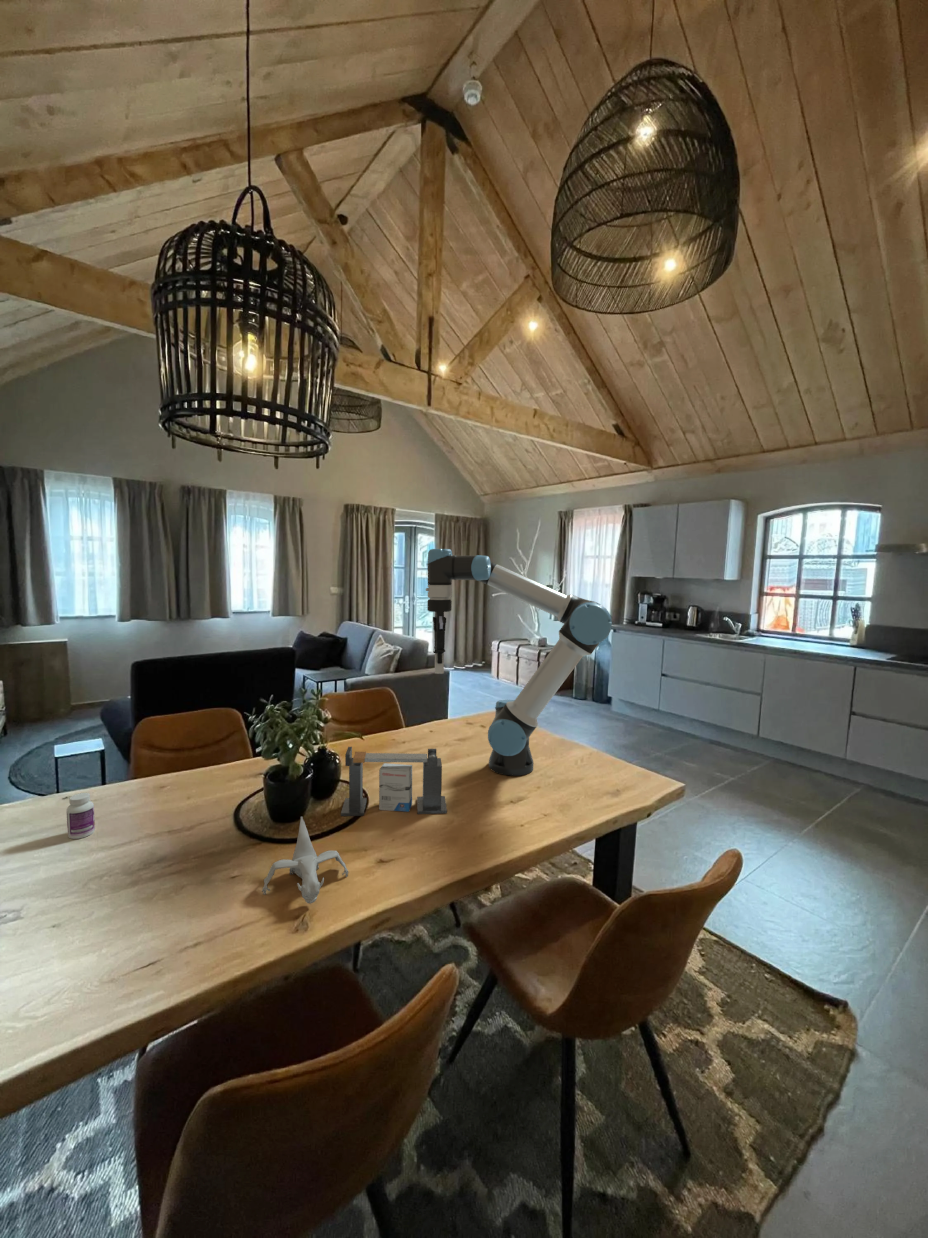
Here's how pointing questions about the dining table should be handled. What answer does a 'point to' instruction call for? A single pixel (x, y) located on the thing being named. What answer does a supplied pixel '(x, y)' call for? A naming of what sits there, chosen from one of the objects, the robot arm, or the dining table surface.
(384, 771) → the ink box
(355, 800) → the post
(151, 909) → the dining table surface
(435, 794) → the hinge post
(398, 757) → the white gate latch bar
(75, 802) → the pill bottle
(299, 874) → the dragon figurine
